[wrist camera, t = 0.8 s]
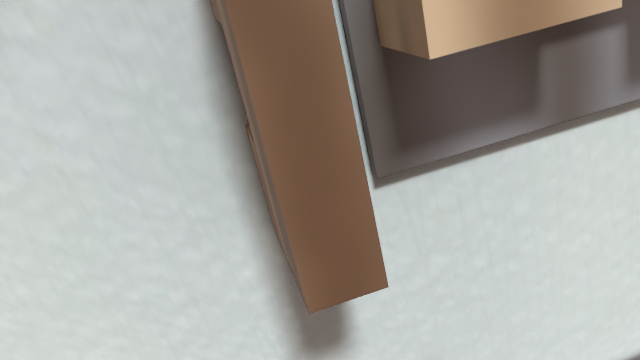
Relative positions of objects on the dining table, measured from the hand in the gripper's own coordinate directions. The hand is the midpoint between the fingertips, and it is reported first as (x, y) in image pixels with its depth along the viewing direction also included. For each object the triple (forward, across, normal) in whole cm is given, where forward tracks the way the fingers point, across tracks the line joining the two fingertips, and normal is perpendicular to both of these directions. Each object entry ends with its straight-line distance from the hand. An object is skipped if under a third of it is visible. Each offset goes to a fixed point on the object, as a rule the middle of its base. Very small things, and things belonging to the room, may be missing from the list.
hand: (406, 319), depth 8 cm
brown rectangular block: (+12, 0, -2) cm, 13 cm away
